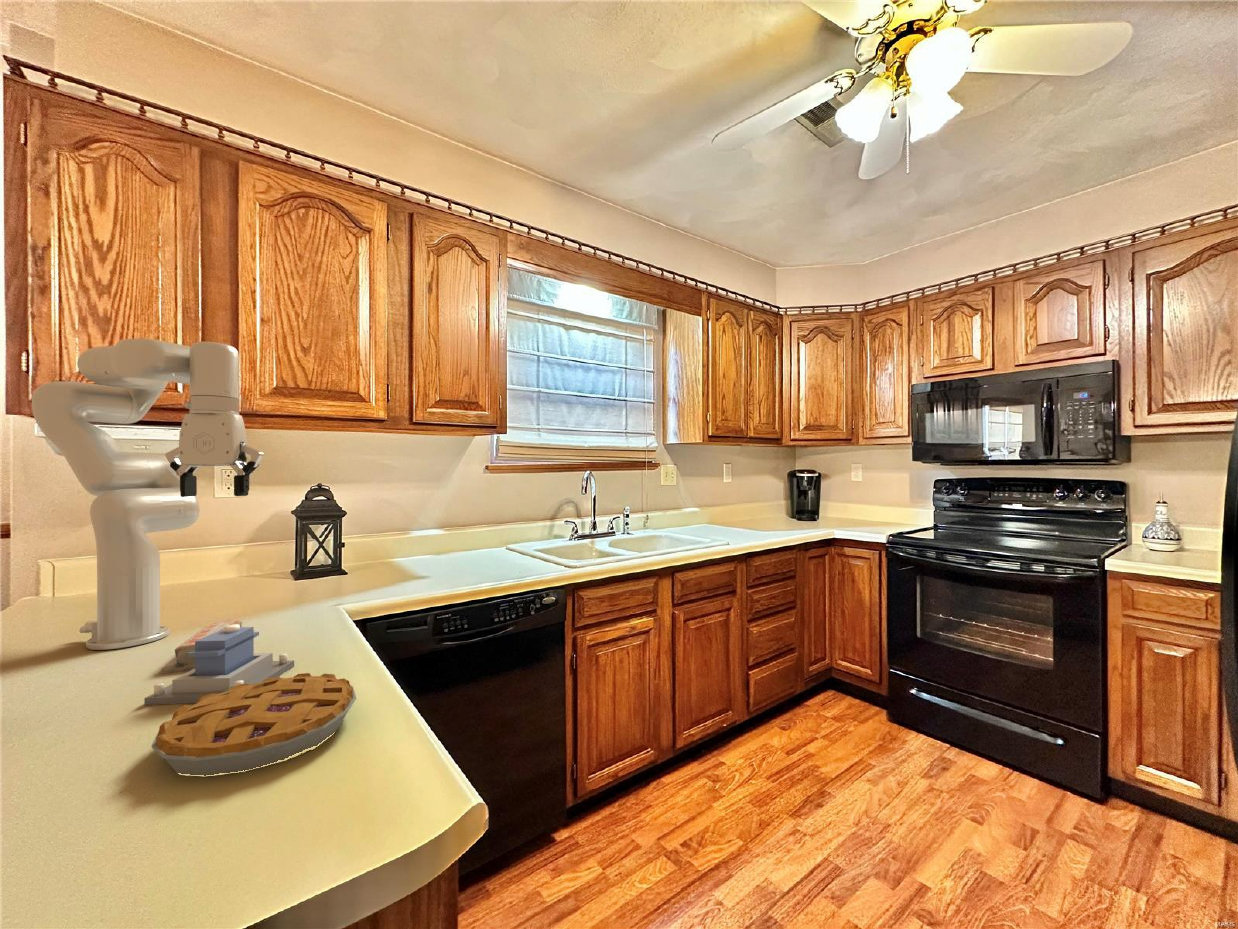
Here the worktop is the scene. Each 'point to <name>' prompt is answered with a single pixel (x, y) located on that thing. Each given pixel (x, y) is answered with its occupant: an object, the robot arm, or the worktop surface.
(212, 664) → the block
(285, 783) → the worktop surface
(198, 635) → the packaged product
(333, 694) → the pie
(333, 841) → the worktop surface
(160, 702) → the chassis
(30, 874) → the worktop surface
